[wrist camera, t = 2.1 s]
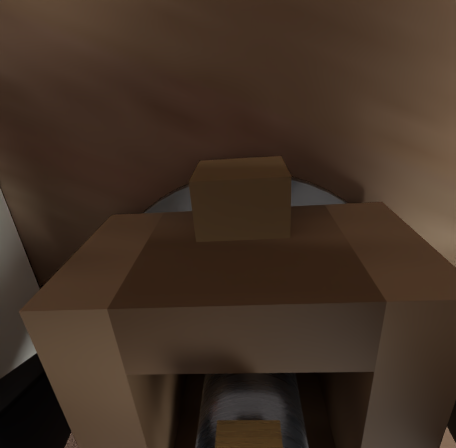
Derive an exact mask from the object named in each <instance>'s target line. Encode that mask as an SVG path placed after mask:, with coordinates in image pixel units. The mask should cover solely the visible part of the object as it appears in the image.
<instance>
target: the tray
mask: <svg viewBox="0 0 456 448" xmlns="http://www.w3.org/2000/svg"><path fill="white" fill-rule="evenodd" d="M39 290H40V289H39V286H38V283H37V281H36V278H35V276H34V273H33V271H32V268H31V265H30V263H29V260H28V258H27V255H26V253H25V250H24V248H23V245H22V242H21V240H20V237H19V235H18V232H17V230H16V227H15V224H14V222H13V219H12V217H11V214H10V212H9V209H8V207H7V204H6V201H5V199H4V196H3V194H2V191H1V189H0V379H1V378H2V377H3V376H5V375H6V374H8V373H9V372H10V371H12V370H13V369H15V368H16V367H18V366H19V365H20V364H22V363H23V362H25V361H26V360H27V359H29V358H30V357H32V356H33V355H35V354H36V353H37V352H36V350H35V347H34V345H33V343H32V341H31V338H30V336H29V334H28V331H27V329H26V327H25V325H24V322H23V320H22V318H21V316H20V313H19V311H20V310H21V309H22V308H23V307H24V305H25V304H26V303H27V302H28V301H29V300H30V299H31V298H32V297H33V296H34V295H35V294H36V293H37V292H38V291H39Z"/></svg>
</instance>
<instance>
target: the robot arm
mask: <svg viewBox="0 0 456 448" xmlns="http://www.w3.org/2000/svg"><path fill="white" fill-rule="evenodd" d="M447 427H448V429H449V431H450V433H451V435H452V437H453V439H454V441H455V442H456V401H455V404H454V407H453V409H452V412H451V415H450V418H449V421H448V424H447ZM70 433H71V429H70V427H69V425H68V422H67V420H66V418H65V416H64V413H63V411H62V409H61V406H60V404H59V402H58V400H57V397H56V395H55V393H54V391H53V388H52V386H51V384H50V381H49V379H48V377H47V375H46V372H45V370H44V368H43V366H42V363H41V361H40V359H39V356H38V354H37V353H36V354H35V355H33V356H32V357H30V358H29V359H27V360H26V361H25V362H23V363H22V364H20V365H19V366H18V367H16V368H15V369H13V370H12V371H10V372H9V373H8V374H6V375H5V376H3V377H2V378H1V379H0V448H64V447H65V445H66V443H67V440H68V438H69V436H70Z"/></svg>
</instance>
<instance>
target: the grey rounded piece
mask: <svg viewBox="0 0 456 448" xmlns="http://www.w3.org/2000/svg"><path fill="white" fill-rule="evenodd" d="M328 204H348V203H347V202H346V201H345V200H343V199H342V198H340V197H338V196H337V195H335V194H333V193H331V192H330V191H328V190H326V189H324V188H322V187H319V186H317V185H315V184H312V183H310V182H308V181H304V180H301V179H297V178H293V177H291V206H307V205H328ZM182 211H192V206H191V198H190V190H189V184H187V185H185V186H182V187H180V188H178V189H176V190H174V191H173V192H171V193H169V194H167V195H166V196H164V197H162V198H160V199H159V200H158V201H157V202H155V203H154V204H153V205H151V206H150V207H149V208H148V209H146V210H145V211H144V212H143V213H161V212H182ZM195 448H309V446H308V440H307V435H306V429H305V423H304V418H303V412H302V407H301V401H300V395H299V390H298V384H297V378H296V373H224V374H205V377H204V384H203V392H202V400H201V407H200V415H199V423H198V430H197V438H196V446H195Z"/></svg>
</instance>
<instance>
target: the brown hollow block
mask: <svg viewBox="0 0 456 448" xmlns="http://www.w3.org/2000/svg"><path fill="white" fill-rule="evenodd" d="M189 190H190V198H191V206H192V211H182V212H161V213H140V214H120V215H111V216H110V217H109V218H108V219H107V220H106V221H105V222H104V223H103V224H102V225H101V226H100V228H99V229H98V230H97V231H96V232H95V233H94V234H93V235H92V236H91V237H90V238H89V239H88V240H87V241H86V242H85V243H84V244H83V245H82V246H81V247H80V248H79V249H78V250H77V251H76V252H75V254H74V255H73V256H72V257H71V258H70V259H69V260H68V261H67V262H66V263H65V264H64V265H63V266H62V267H61V268H60V269H59V270H58V271H57V272H56V273H55V274H54V275H53V276H52V277H51V278H50V280H49V281H48V282H47V283H46V284H45V285H44V286H43V287H42V288H41V289H40V290H39V291H38V292H37V293H36V294H35V295H34V296H33V297H32V298H31V299H30V300H29V301H28V302H27V303H26V304H25V305H24V307H23V308H22V309H21V310H20V311H19V313H20V316H21V318H22V320H23V322H24V325H25V327H26V329H27V331H28V334H29V336H30V338H31V341H32V343H33V345H34V347H35V350H36V352H37V354H38V356H39V359H40V361H41V363H42V366H43V368H44V370H45V372H46V375H47V377H48V379H49V381H50V384H51V386H52V388H53V391H54V393H55V395H56V397H57V400H58V402H59V404H60V406H61V409H62V411H63V413H64V416H65V418H66V420H67V422H68V425H69V427H70V429H71V431H72V434H73V436H74V438H75V441H76V443H77V445H78V447H79V448H195V446H196V438H197V430H198V423H199V415H200V407H201V400H202V392H203V384H204V377H205V374H224V373H296V378H297V384H298V390H299V395H300V401H301V407H302V412H303V418H304V423H305V429H306V435H307V440H308V446H309V448H439V447H440V444H441V441H442V438H443V435H444V433H445V430H446V427H447V424H448V421H449V418H450V415H451V412H452V409H453V407H454V404H455V401H456V267H455V266H453V265H452V264H451V263H450V262H449V261H448V260H447V259H446V258H444V257H443V256H442V255H441V254H440V253H439V252H438V251H437V250H435V249H434V248H433V247H432V246H431V245H430V244H429V243H428V242H426V241H425V240H424V239H423V238H422V237H421V236H420V235H419V234H418V233H416V232H415V231H414V230H413V229H412V228H411V227H410V226H409V225H407V224H406V223H405V222H404V221H403V220H402V219H401V218H400V217H398V216H397V215H396V214H395V213H394V212H393V211H392V210H391V209H389V208H388V207H387V206H386V205H385V204H384V203H383V202H370V203H349V204H328V205H307V206H291V175H290V173H289V171H288V169H287V167H286V165H285V162H284V160H283V158H282V156H270V157H253V158H236V159H219V160H202V161H199V163H198V165H197V167H196V169H195V171H194V173H193V175H192V176H191V178H190V180H189Z"/></svg>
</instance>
